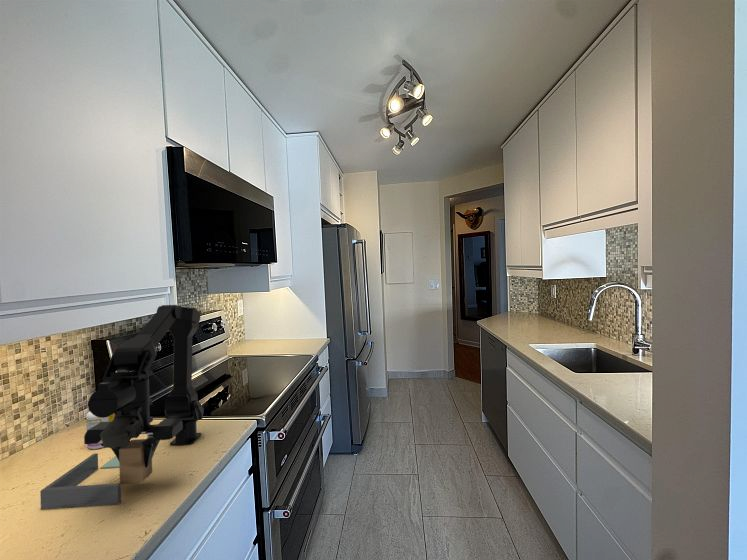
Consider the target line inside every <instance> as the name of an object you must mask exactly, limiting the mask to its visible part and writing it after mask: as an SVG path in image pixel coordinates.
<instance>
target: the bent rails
mask: <svg viewBox="0 0 747 560" xmlns="http://www.w3.org/2000/svg"><path fill="white" fill-rule="evenodd" d="M97 470H99V453H92V454H91V455H89V456H88V457H86V459H84V460H82V461H81V462H80V463H78V464H77V465H75V466H74V467H72V468H71V469H70V470H68V471H67V472H65V473H64V474H62V475H60V476H59V477H58V478H56V479H55V480H53V481H52V482H51V483H49V484H48V485H46V486H45V487H44V488H42V489H41V490H40V492H39V493H40V494H39V495H40V510H41V511H42V510H55V509H58V510H59V509H71V508H72V509H73V508H86V507H98V506H99V507H100V506H112V505H113V506H114V505H115V506H118V505H119V504H120V503H121V502H122V485H121V483H120V482H119V483H104V484H88V485H85V484H83V485H79V484H81V483H82V482H83V481H84V480H86V479H87V478H88V477H90V476H91V475H92V474H93V473H95V472H96V471H97Z"/></svg>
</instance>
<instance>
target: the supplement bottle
mask: <svg viewBox="0 0 747 560" xmlns="http://www.w3.org/2000/svg"><path fill="white" fill-rule="evenodd" d="M114 417H115V413H114V414H112V415H110V416H108V417H105V418H101V417H97V416H95V415H93V414H92V413H91V412H90V410H89V411H88V412H87V414H86V415H85V422H86V423H85V424H86V425H85V427H86V431H87V430H89V429H90V428H92V427H94V426H95V425H97V424H99V423H100V422H111V421H113V420H114ZM102 443H103V442H102V440H101V441H100V442H99V443H98V444H86V446H87V448H88V449H90V450H98V449H104V448H105V447H104V446H101V444H102Z"/></svg>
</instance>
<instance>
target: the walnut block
mask: <svg viewBox="0 0 747 560" xmlns="http://www.w3.org/2000/svg"><path fill="white" fill-rule="evenodd" d="M146 439H147V438H140V439H137V438H136V439H130V442H129V443H128V444H127V445H126V446H123V447H121V448H120V449H119V465H120V468H119V483H121V486H122V485H137V484H138V485H139V484H142V483H144V481H145V480H146V479H147V478H148V477H150V475H151V474H152V473H153V459H152V460H151V463H150V465H149V466H148V467H145V462H144V458H145V447H144V445H143V444H142V442H143V441H144V440H146Z"/></svg>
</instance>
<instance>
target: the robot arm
mask: <svg viewBox="0 0 747 560" xmlns="http://www.w3.org/2000/svg"><path fill="white" fill-rule="evenodd" d="M200 320H201V312H200V311H198V310H197V309H196V307H185V306H181V305H177V304H163V305H159V306H158V307H157V310H156V313H154V315H153V316H152V317H151V318H150V320H149V321H148V322H147V323H146V324H145V326H144V327H143V328H142V329H141V331H140V332H139V333H137V335H136V336H134V337H132V338H130V339H128V340H126V341H123V342H122V343H121V344H120V345H119V346H118V347H116V348H115V350H114V351H113V353H112V354H111V357H110V360H109V362H108V365H107V367H106V369H105V371H104V374H103V376H102V381H103V382H100V383H98V385H97V386H98V388H97V390H95V391H94V392H93V393H92V394H91V395H90V397H89V400H88V401H87V408H88V410H89V411H90V412H91V413H92V414H93V415H95V416H97V417H101V418H105V417H108V416H110V415H112V414H114V413H115V417H114V420H113V421H111V422H100V423H99V424H97V425H95V426H94V427H92V428H90V429H89V430H86V431H85V433H84V435H83V444H84V445H87V444H98V443H99V442H100V441H101V440H102V442H103V443H102V444H101V446H104V447H103V448H105V449H107V448H109V449H110V450H112V452H113V453H114V455H115V456H116V457H117V459H118V460H119V449H120V448H121V447H123V446H126V445H127V444H128V443H129V442H130V441H131V440H132V439H137V438H139V437H140V436H141V435H146V437H147V438H145V439H146V440H144V441H143V442H142V444H143V445H144V447H145V458H144V462H145V467H148V466H149V465H150V463H151V460H152V461H153V457H154V455H155V452H156V450H157V447H158V445H159V443H160V441H166V440H172V439H173V438H174V439H173V440H172V441H171V442H169V445H170V446H178V445H192V444H194V443H195V442H196V441H197V440H198V439H199V438H200V436H201V435H202V432H197V431H198V430H197V422H198V421H199V420H200V421H201V420H202V419H203V416H204V411H205V408H204V407H203V405H202V404H201V403H200V402H199V397H198V395H199V394H198V392H197V391H196V389H195V387H194V386H193V384H192V382H193V381H192V380H193V336H194V335H195V333H196V332H197V330H199V327H200V326H199V325H200V324H199V323H200V322H201V321H200ZM168 331H169V332H170V334H171V336H172V338H173V367H172V368H173V370H172V371H173V372H172V373H173V374H172V389H171V391H170V392H169V393H168V394H167V395H166V396H165V399H164V401H165V402H164V411H163V412H164V416H165V418H163V420H161V421H160V422H159V423H157V424H156V423H155V424H151V423H152V422H154V416H150V415H151V414H150V406H151V405H153V403H154V402H153V399H150V379H149V378H150V376H152V375H154V371H152V370H151V367H152V365H153V364H154V361H155V360H156V358H157V350H156V348H157V347H158V345H159V344H160V342H161V341H162V339H163V338H164V337H165V335H166V334H167V333H168Z"/></svg>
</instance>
